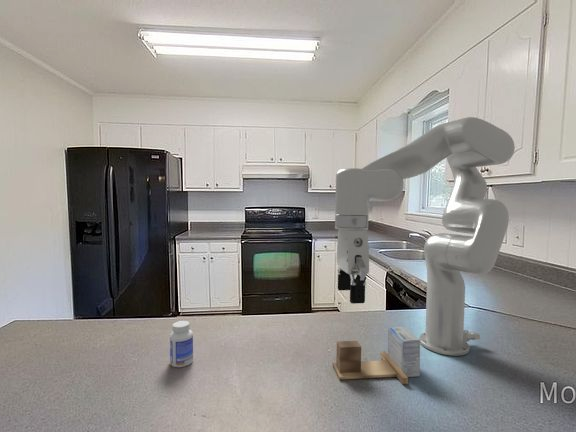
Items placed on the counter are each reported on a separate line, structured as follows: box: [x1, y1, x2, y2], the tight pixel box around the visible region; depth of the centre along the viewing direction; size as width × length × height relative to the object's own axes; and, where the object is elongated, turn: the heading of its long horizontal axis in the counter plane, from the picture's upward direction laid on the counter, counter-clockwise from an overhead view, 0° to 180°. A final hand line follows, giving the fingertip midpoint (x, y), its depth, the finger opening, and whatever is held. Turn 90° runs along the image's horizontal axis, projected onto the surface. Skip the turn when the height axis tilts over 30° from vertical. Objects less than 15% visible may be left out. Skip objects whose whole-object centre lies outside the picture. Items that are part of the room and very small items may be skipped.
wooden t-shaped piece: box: [332, 340, 409, 385], centre depth 72 cm, size 15×12×7 cm
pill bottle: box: [169, 320, 194, 368], centre depth 75 cm, size 5×5×10 cm
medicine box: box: [387, 326, 421, 378], centre depth 74 cm, size 8×4×9 cm, turn 6°
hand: (350, 296), depth 71 cm, fingers open, 9 cm apart
